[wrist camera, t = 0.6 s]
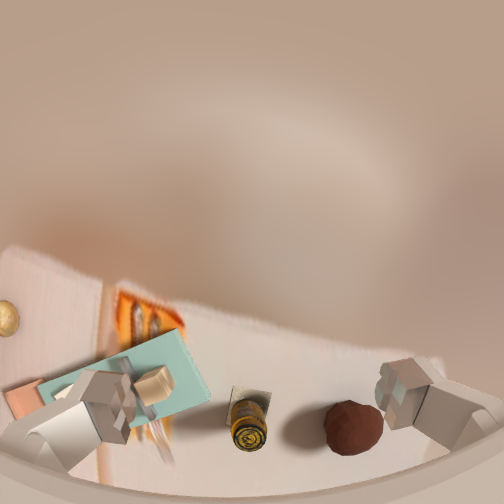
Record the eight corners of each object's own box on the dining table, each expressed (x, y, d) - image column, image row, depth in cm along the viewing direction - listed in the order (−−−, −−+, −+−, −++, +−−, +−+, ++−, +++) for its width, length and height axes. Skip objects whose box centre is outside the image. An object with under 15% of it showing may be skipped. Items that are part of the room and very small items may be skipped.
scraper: (186, 403, 49) (179, 420, 41) (153, 415, 49) (142, 432, 41) (155, 344, 50) (143, 352, 43) (123, 357, 50) (106, 367, 42)
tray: (77, 442, 50) (70, 448, 46) (43, 449, 48) (36, 454, 45) (43, 378, 51) (35, 381, 48) (12, 390, 50) (3, 393, 46)
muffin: (311, 441, 53) (324, 463, 43) (324, 393, 55) (340, 410, 45) (362, 441, 54) (381, 461, 44) (376, 396, 55) (398, 410, 45)
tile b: (88, 405, 48) (84, 408, 46) (73, 414, 47) (68, 417, 45) (73, 383, 48) (69, 386, 46) (58, 393, 47) (54, 396, 45)
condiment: (225, 424, 53) (224, 452, 41) (233, 386, 54) (234, 408, 42) (262, 430, 53) (269, 459, 41) (271, 392, 54) (281, 415, 43)
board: (210, 393, 54) (209, 400, 50) (75, 438, 50) (68, 444, 46) (177, 327, 55) (173, 330, 51) (46, 381, 51) (36, 386, 47)
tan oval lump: (0, 300, 53) (-19, 299, 46) (22, 301, 53) (4, 300, 46) (2, 334, 52) (-16, 336, 45) (25, 337, 52) (6, 340, 45)
